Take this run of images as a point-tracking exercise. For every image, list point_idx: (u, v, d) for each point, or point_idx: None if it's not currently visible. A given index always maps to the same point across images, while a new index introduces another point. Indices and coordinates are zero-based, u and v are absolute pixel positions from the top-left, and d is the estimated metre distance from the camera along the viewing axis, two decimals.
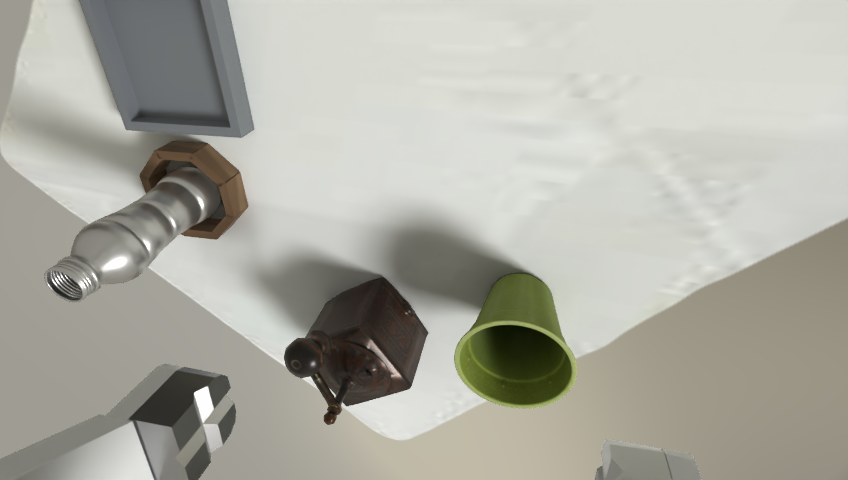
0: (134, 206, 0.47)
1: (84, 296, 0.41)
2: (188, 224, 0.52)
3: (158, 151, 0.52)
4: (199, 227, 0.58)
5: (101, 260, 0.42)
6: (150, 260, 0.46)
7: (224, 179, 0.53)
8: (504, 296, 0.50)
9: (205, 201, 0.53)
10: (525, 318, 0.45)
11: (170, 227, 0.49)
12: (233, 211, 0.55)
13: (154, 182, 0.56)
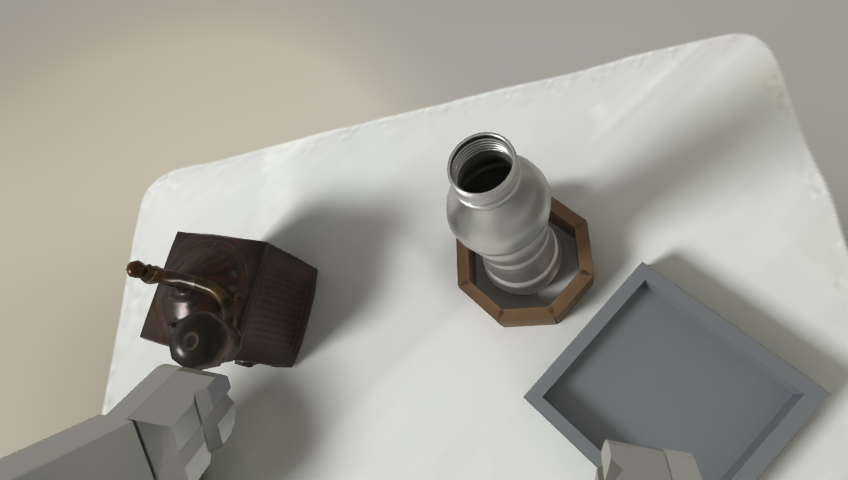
0: (537, 249, 0.32)
1: (448, 174, 0.25)
2: None
3: (589, 278, 0.38)
4: None
5: (483, 217, 0.27)
6: None
7: (502, 322, 0.39)
8: None
9: (495, 281, 0.39)
10: None
11: (485, 258, 0.34)
12: None
13: (567, 225, 0.40)
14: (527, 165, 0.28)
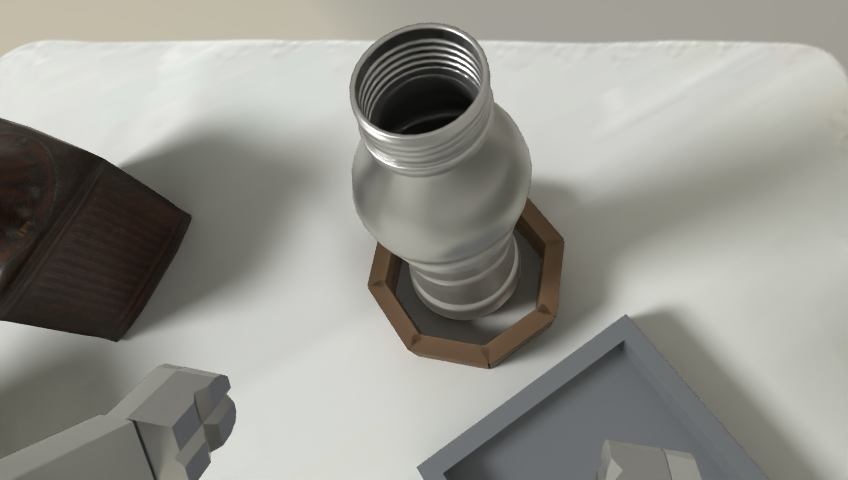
0: (486, 264, 0.20)
1: (350, 86, 0.13)
2: None
3: (549, 320, 0.26)
4: None
5: (404, 190, 0.14)
6: None
7: (415, 352, 0.27)
8: None
9: (419, 292, 0.27)
10: None
11: None
12: (375, 298, 0.28)
13: (536, 238, 0.29)
14: (505, 119, 0.16)
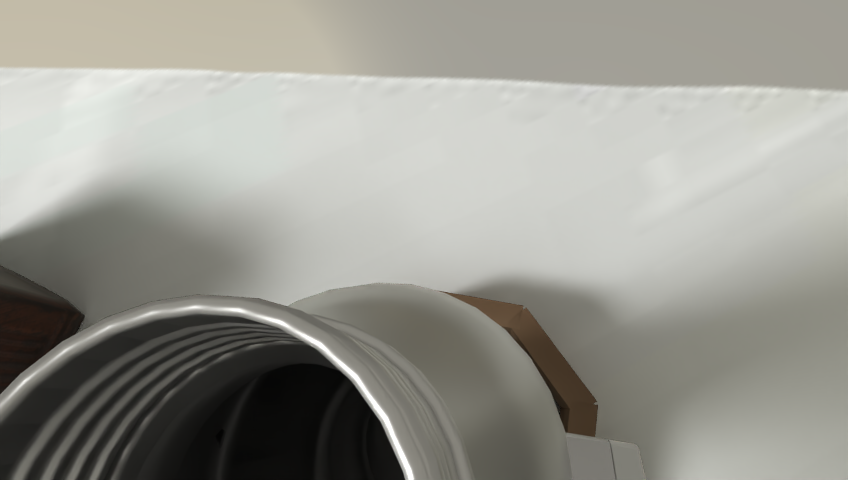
0: None
1: None
2: None
3: None
4: None
5: None
6: None
7: None
8: None
9: None
10: None
11: None
12: None
13: (555, 391, 0.19)
14: (513, 417, 0.06)
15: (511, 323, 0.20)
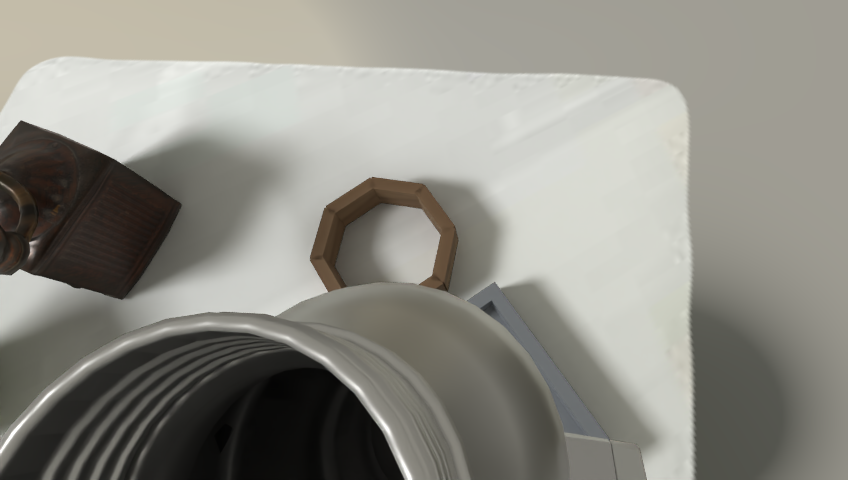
0: None
1: None
2: None
3: (438, 285, 0.36)
4: (358, 202, 0.40)
5: None
6: None
7: None
8: None
9: None
10: None
11: None
12: (315, 268, 0.38)
13: (437, 225, 0.38)
14: (511, 414, 0.06)
15: (416, 192, 0.39)
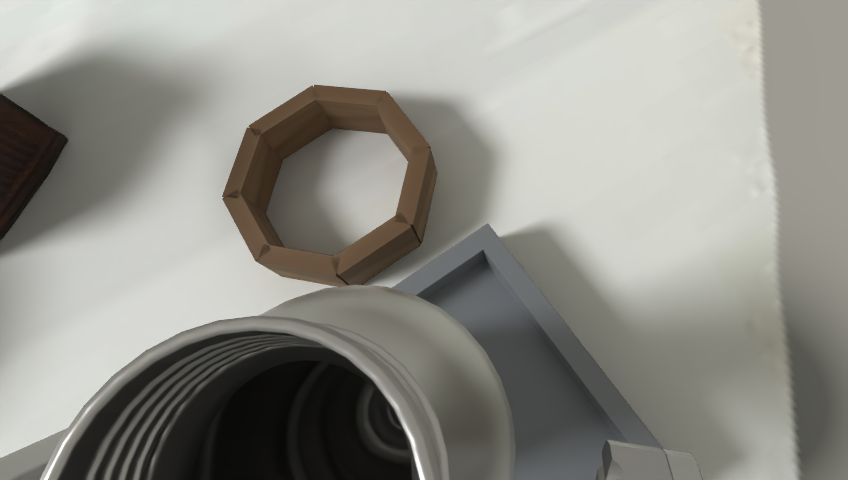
0: None
1: None
2: None
3: (405, 229, 0.24)
4: (296, 121, 0.28)
5: None
6: None
7: (264, 264, 0.25)
8: None
9: None
10: None
11: None
12: (229, 210, 0.26)
13: (406, 149, 0.27)
14: (472, 400, 0.08)
15: (376, 102, 0.27)
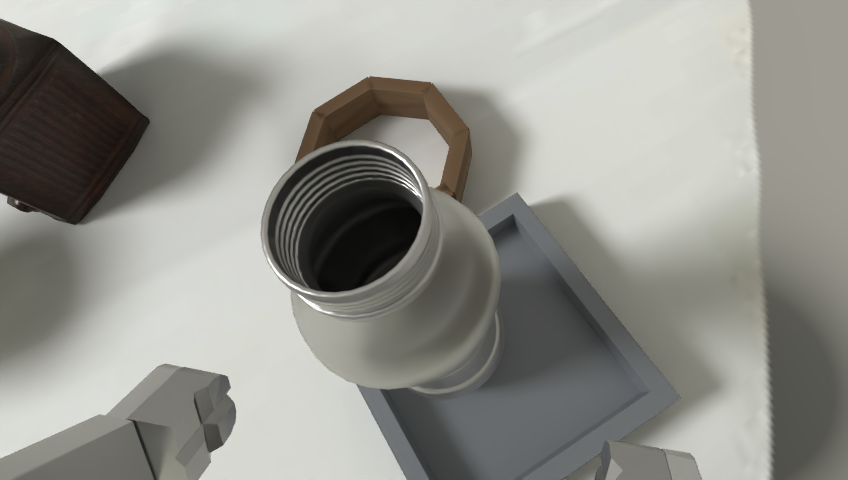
0: (455, 368, 0.18)
1: (264, 218, 0.10)
2: None
3: None
4: (353, 107, 0.33)
5: (339, 323, 0.12)
6: None
7: None
8: None
9: None
10: None
11: None
12: None
13: (447, 131, 0.32)
14: (467, 232, 0.13)
15: (422, 92, 0.32)
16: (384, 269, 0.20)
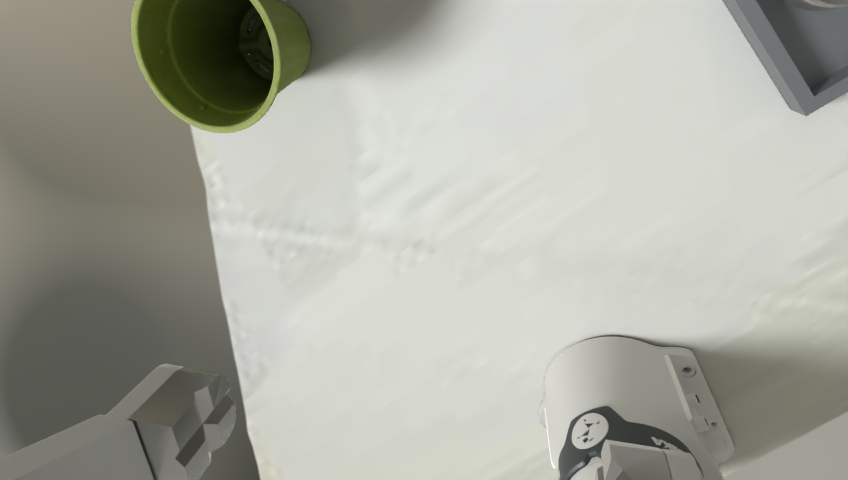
0: None
1: None
2: None
3: None
4: None
5: None
6: None
7: None
8: (292, 71, 0.40)
9: None
10: None
11: None
12: None
13: None
14: None
15: None
16: None
